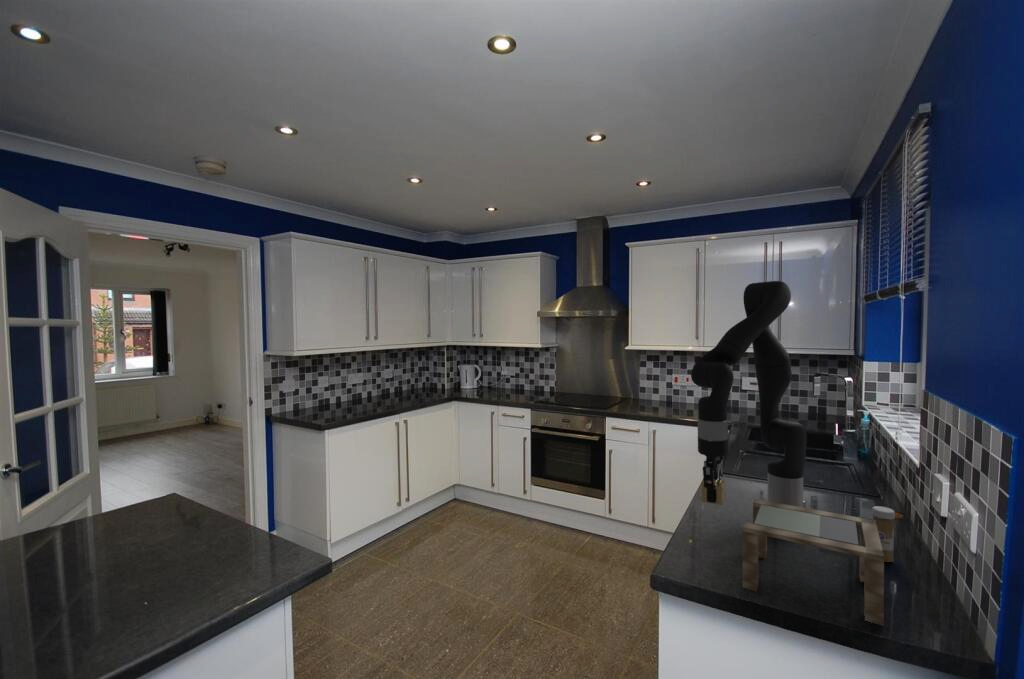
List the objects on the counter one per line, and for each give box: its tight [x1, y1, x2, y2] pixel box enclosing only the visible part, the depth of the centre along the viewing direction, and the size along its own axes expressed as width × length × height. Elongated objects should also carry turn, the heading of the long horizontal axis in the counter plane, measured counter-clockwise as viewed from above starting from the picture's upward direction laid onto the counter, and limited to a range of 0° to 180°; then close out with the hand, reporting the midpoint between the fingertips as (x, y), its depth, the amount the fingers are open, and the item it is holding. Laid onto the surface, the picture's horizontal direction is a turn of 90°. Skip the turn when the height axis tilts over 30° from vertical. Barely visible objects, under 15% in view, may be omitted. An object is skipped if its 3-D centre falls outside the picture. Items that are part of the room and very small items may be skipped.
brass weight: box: [701, 479, 726, 506], centre depth 124 cm, size 5×5×5 cm
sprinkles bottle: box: [872, 505, 896, 563], centre depth 121 cm, size 5×5×14 cm
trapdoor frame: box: [742, 498, 885, 627], centre depth 110 cm, size 26×21×14 cm
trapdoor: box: [754, 505, 860, 562], centre depth 111 cm, size 20×14×4 cm
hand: (713, 498), depth 124 cm, fingers closed on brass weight, 5 cm apart
